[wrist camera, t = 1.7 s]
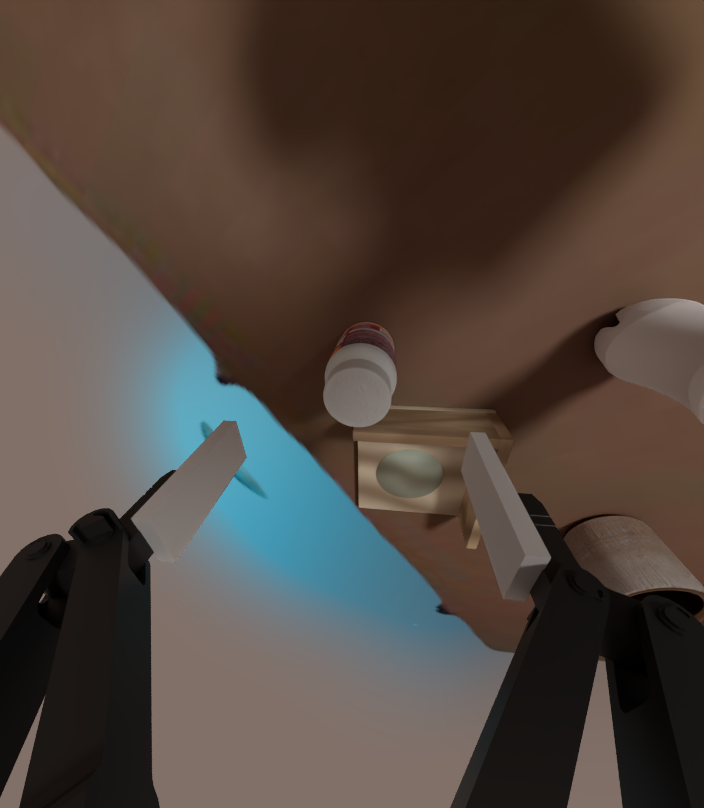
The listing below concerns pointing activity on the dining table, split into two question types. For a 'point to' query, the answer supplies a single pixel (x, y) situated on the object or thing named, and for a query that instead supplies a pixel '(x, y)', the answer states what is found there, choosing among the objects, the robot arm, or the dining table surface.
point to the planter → (634, 561)
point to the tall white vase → (658, 349)
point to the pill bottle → (361, 376)
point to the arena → (425, 461)
